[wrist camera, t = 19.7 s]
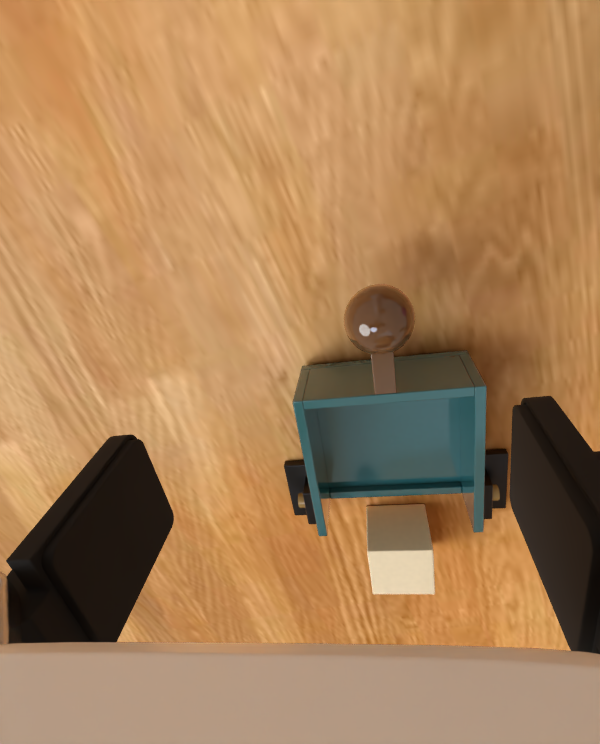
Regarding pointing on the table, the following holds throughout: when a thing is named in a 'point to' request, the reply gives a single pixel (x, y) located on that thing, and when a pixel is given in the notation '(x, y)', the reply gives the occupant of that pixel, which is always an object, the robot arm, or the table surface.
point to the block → (400, 549)
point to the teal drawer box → (391, 415)
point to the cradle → (492, 489)
